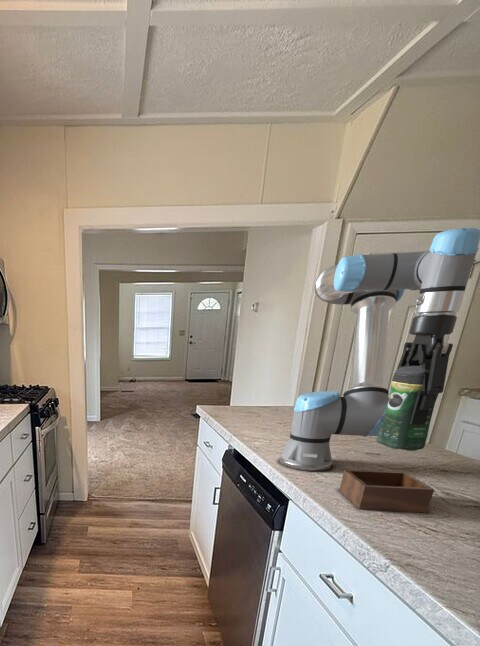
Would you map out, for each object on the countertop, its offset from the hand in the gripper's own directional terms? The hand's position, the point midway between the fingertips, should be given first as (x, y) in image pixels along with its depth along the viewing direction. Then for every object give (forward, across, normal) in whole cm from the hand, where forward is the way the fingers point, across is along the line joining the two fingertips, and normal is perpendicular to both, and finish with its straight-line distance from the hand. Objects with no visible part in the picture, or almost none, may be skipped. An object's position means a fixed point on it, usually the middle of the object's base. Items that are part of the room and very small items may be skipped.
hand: (406, 420), depth 94 cm
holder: (+21, -2, 0) cm, 22 cm away
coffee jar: (+7, 0, 0) cm, 7 cm away
